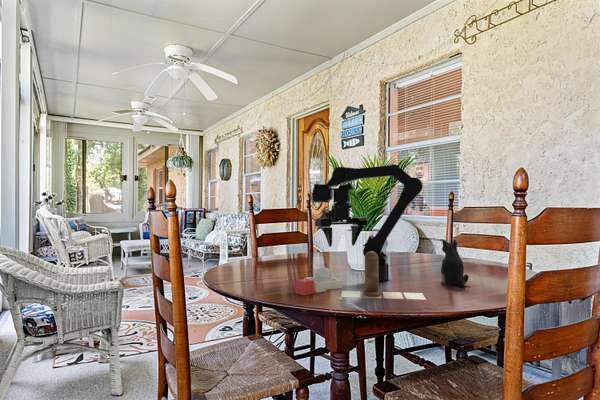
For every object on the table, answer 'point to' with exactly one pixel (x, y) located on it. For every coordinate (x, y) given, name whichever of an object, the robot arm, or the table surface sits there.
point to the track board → (386, 295)
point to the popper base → (326, 285)
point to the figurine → (452, 266)
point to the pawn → (371, 275)
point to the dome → (323, 275)
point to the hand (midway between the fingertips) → (341, 246)
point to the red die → (304, 286)
